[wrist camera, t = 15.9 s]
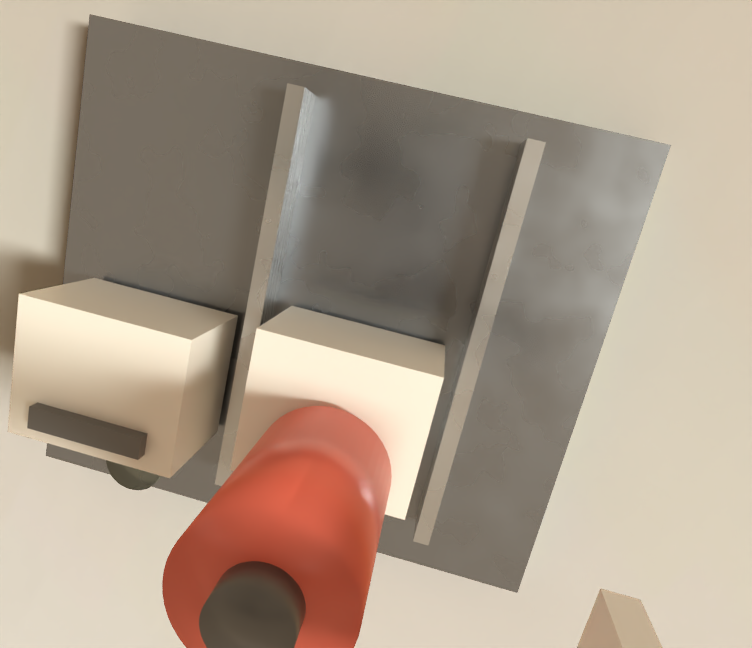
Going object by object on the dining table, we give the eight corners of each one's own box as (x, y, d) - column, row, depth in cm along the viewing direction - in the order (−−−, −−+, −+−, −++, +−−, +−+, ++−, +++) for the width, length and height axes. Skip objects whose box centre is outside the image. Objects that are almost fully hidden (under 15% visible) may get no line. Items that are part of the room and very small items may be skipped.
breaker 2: (291, 305, 21) (251, 331, 17) (445, 345, 21) (443, 381, 17) (268, 424, 22) (225, 475, 18) (412, 464, 22) (403, 527, 18)
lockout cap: (272, 387, 17) (163, 501, 11) (408, 431, 17) (381, 574, 10) (242, 509, 18) (126, 679, 12) (370, 551, 18) (324, 751, 12)
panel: (121, 30, 22) (59, -2, 19) (650, 150, 21) (690, 139, 17) (75, 437, 26) (18, 472, 23) (511, 562, 25) (522, 620, 21)
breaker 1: (94, 277, 22) (9, 295, 18) (237, 315, 22) (186, 342, 17) (81, 393, 23) (-2, 436, 19) (217, 431, 23) (163, 484, 19)
